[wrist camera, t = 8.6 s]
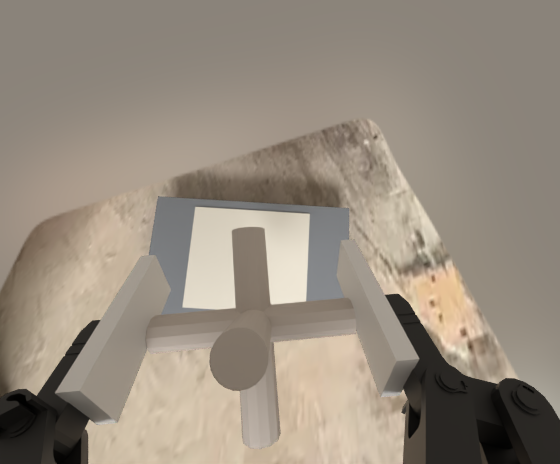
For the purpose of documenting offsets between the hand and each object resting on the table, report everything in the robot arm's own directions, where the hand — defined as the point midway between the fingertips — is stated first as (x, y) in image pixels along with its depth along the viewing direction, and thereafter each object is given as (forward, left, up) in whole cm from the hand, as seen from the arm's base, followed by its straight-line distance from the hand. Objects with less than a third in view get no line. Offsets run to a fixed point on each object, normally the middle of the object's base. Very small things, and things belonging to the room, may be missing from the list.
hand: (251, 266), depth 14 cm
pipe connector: (0, -3, -4) cm, 5 cm away
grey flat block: (-2, +1, -17) cm, 17 cm away
